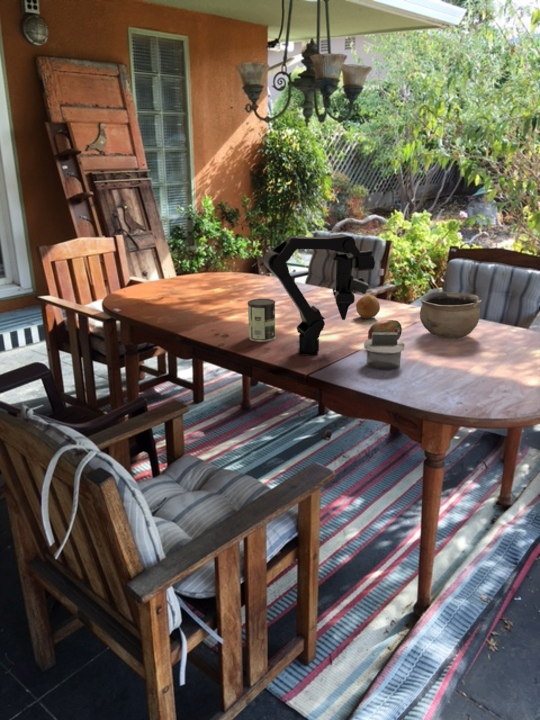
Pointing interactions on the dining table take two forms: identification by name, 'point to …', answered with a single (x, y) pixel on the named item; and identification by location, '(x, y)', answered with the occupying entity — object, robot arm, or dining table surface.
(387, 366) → the pot
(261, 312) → the coffee can
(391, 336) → the lid
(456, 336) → the ceramic bowl
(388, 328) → the tin
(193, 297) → the dining table surface
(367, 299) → the onion
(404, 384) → the dining table surface
